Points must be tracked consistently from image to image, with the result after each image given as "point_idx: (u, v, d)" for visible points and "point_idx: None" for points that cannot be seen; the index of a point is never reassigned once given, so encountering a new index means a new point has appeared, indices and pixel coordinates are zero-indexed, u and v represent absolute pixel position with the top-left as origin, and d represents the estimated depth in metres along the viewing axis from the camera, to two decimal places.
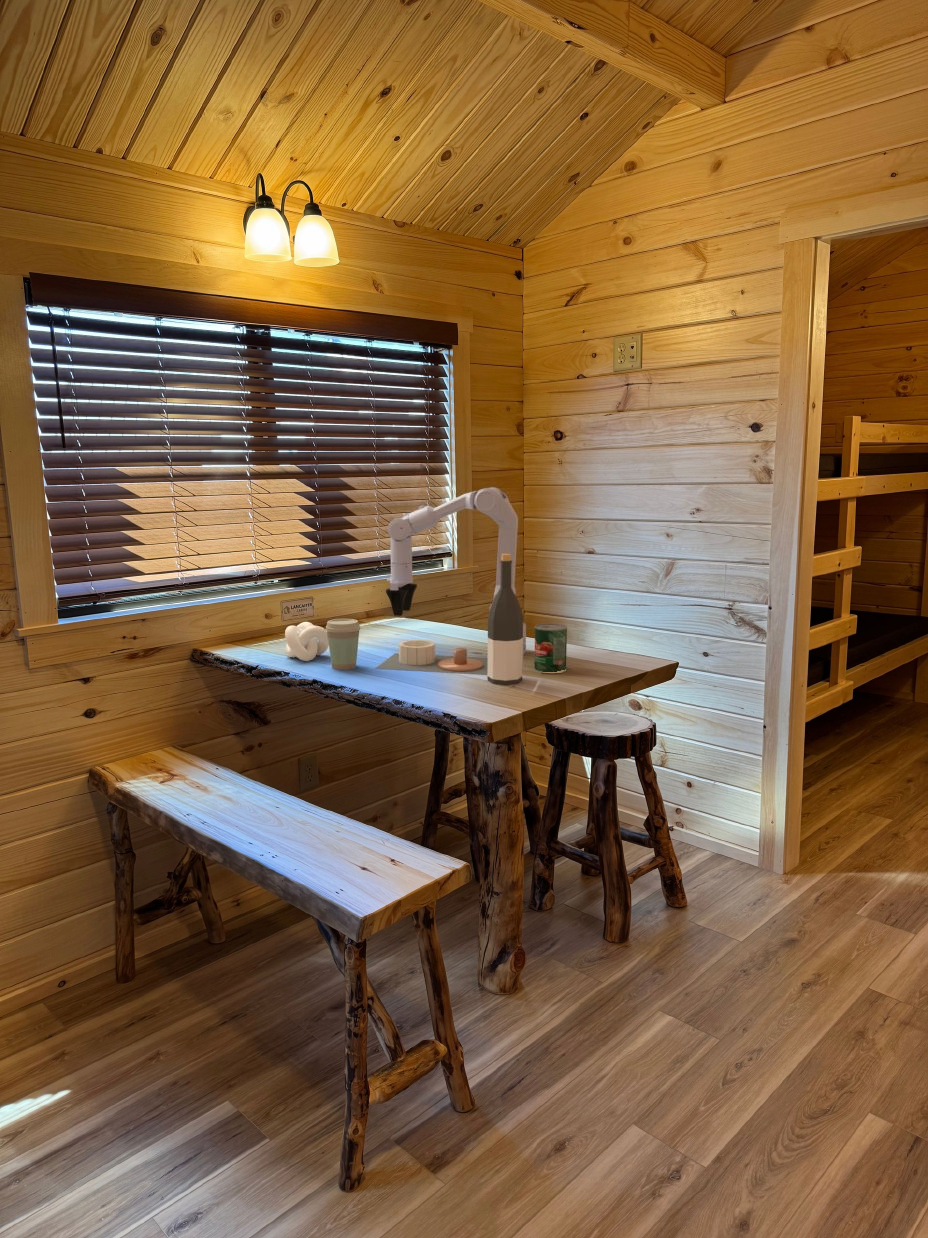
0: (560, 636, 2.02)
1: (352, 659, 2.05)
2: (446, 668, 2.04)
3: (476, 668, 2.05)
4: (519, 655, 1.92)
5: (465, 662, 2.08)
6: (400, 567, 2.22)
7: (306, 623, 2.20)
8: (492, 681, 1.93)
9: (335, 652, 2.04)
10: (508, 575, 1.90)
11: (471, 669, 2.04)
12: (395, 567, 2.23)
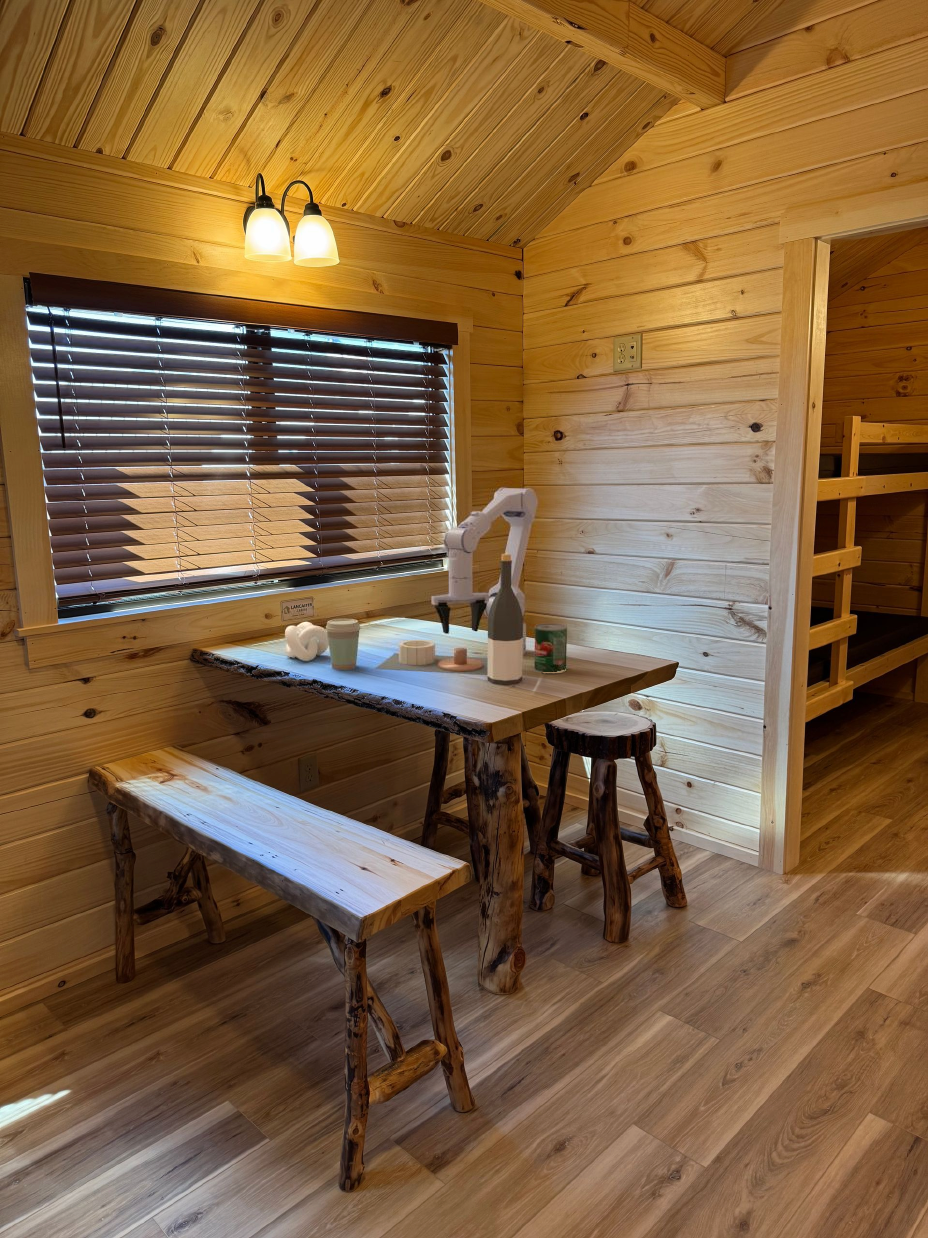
0: (560, 636, 2.02)
1: (352, 659, 2.05)
2: (446, 668, 2.04)
3: (476, 668, 2.05)
4: (519, 655, 1.92)
5: (465, 662, 2.08)
6: (450, 581, 2.03)
7: (306, 623, 2.20)
8: (492, 681, 1.93)
9: (335, 652, 2.04)
10: (508, 575, 1.90)
11: (471, 669, 2.04)
12: (449, 580, 2.04)
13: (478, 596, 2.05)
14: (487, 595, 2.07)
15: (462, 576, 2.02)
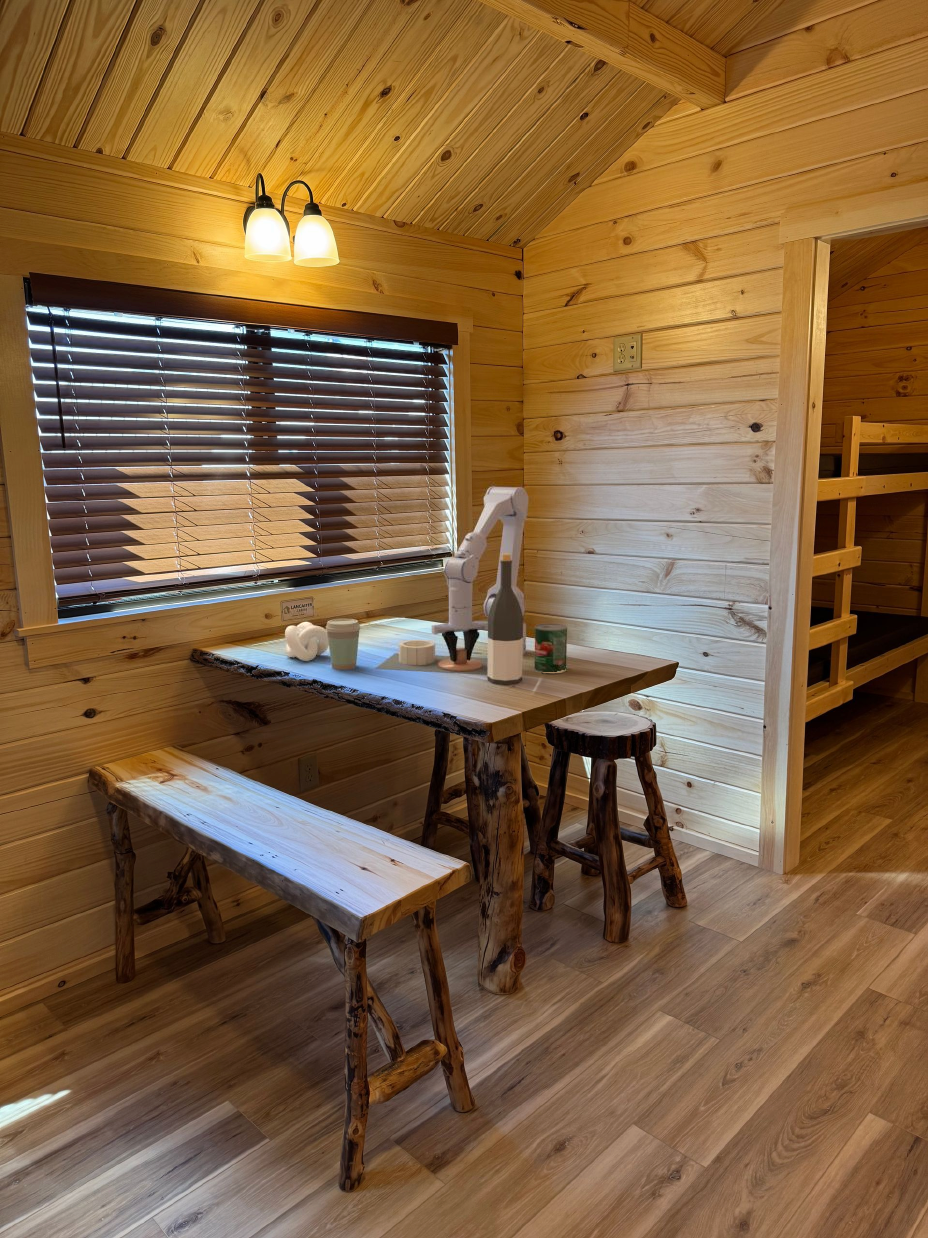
0: (560, 636, 2.02)
1: (352, 659, 2.05)
2: (446, 668, 2.04)
3: (476, 668, 2.05)
4: (519, 655, 1.92)
5: (465, 662, 2.08)
6: (450, 610, 2.04)
7: (306, 623, 2.20)
8: (492, 681, 1.93)
9: (335, 652, 2.04)
10: (508, 575, 1.90)
11: (471, 669, 2.04)
12: (449, 610, 2.06)
13: (478, 625, 2.07)
14: (487, 624, 2.08)
15: (462, 606, 2.03)
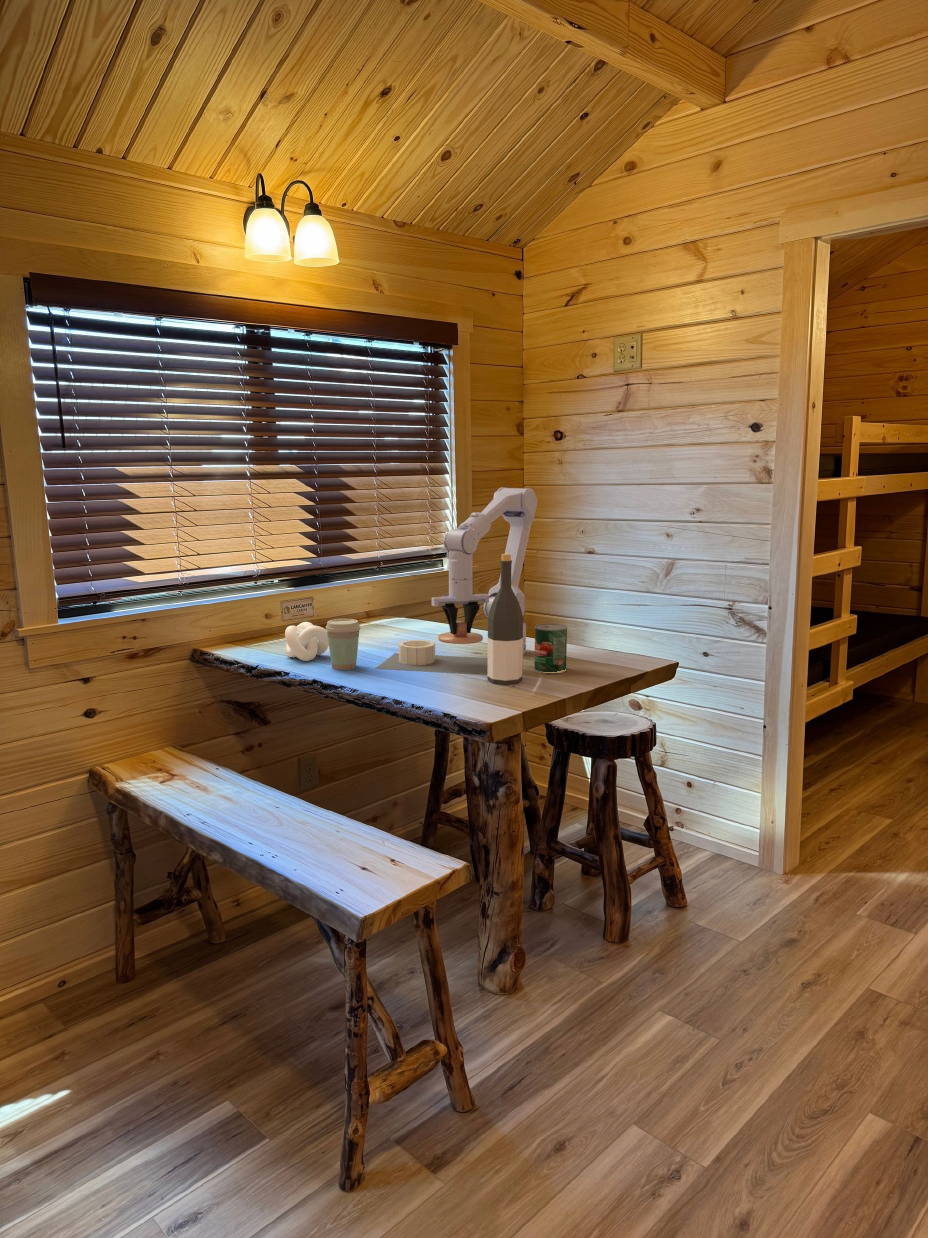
0: (560, 636, 2.02)
1: (352, 659, 2.05)
2: (446, 640, 2.03)
3: (476, 641, 2.04)
4: (519, 655, 1.92)
5: (465, 635, 2.06)
6: (450, 582, 2.03)
7: (306, 623, 2.20)
8: (492, 681, 1.93)
9: (335, 652, 2.04)
10: (508, 575, 1.90)
11: (471, 641, 2.03)
12: (449, 582, 2.04)
13: (478, 597, 2.05)
14: (487, 596, 2.07)
15: (462, 577, 2.02)
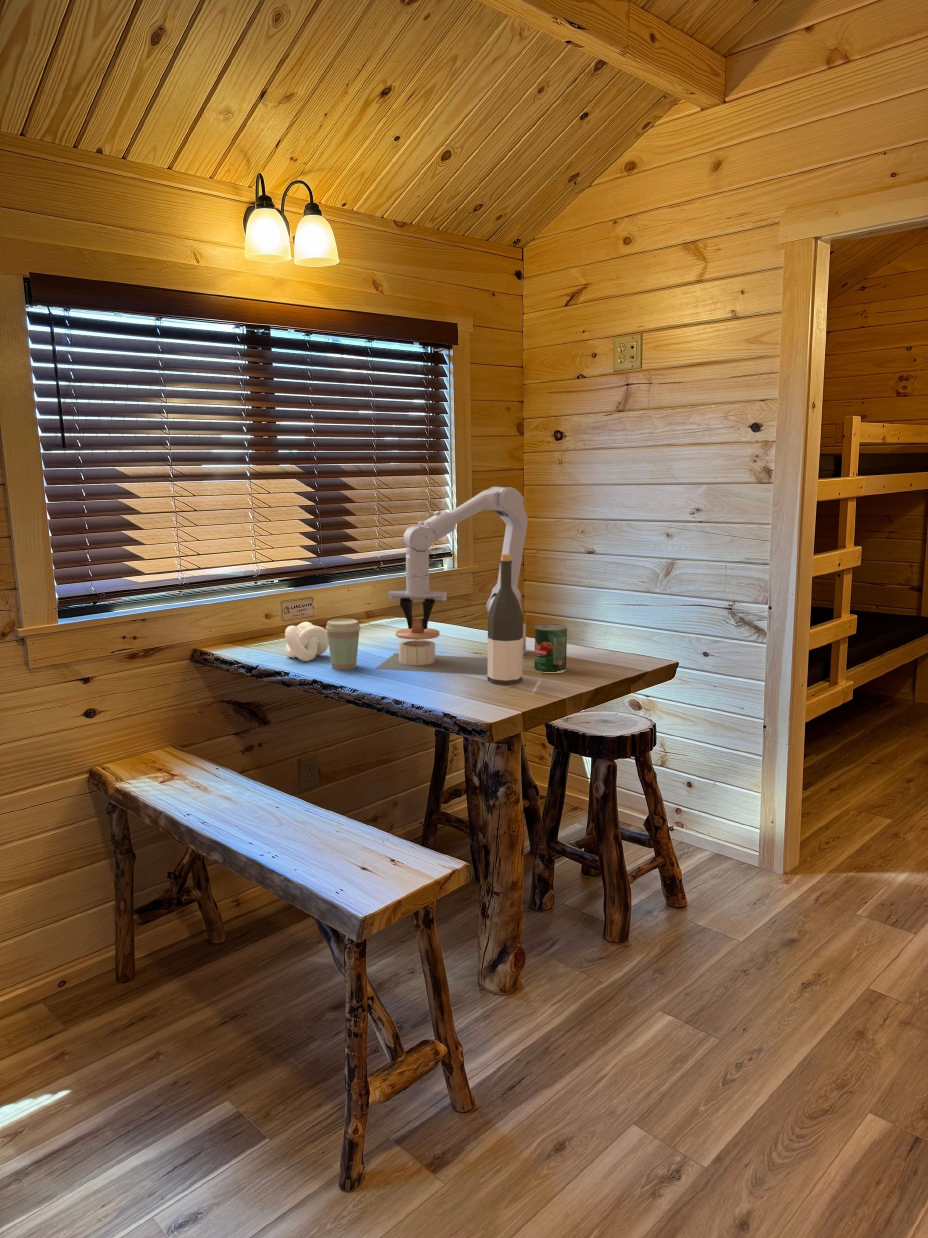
0: (560, 636, 2.02)
1: (352, 659, 2.05)
2: (397, 635, 2.10)
3: (424, 637, 2.07)
4: (519, 655, 1.92)
5: (420, 631, 2.11)
6: (406, 578, 2.10)
7: (306, 623, 2.20)
8: (492, 681, 1.93)
9: (335, 652, 2.04)
10: (508, 575, 1.90)
11: (418, 638, 2.07)
12: None
13: (432, 595, 2.08)
14: (443, 594, 2.09)
15: (413, 574, 2.07)
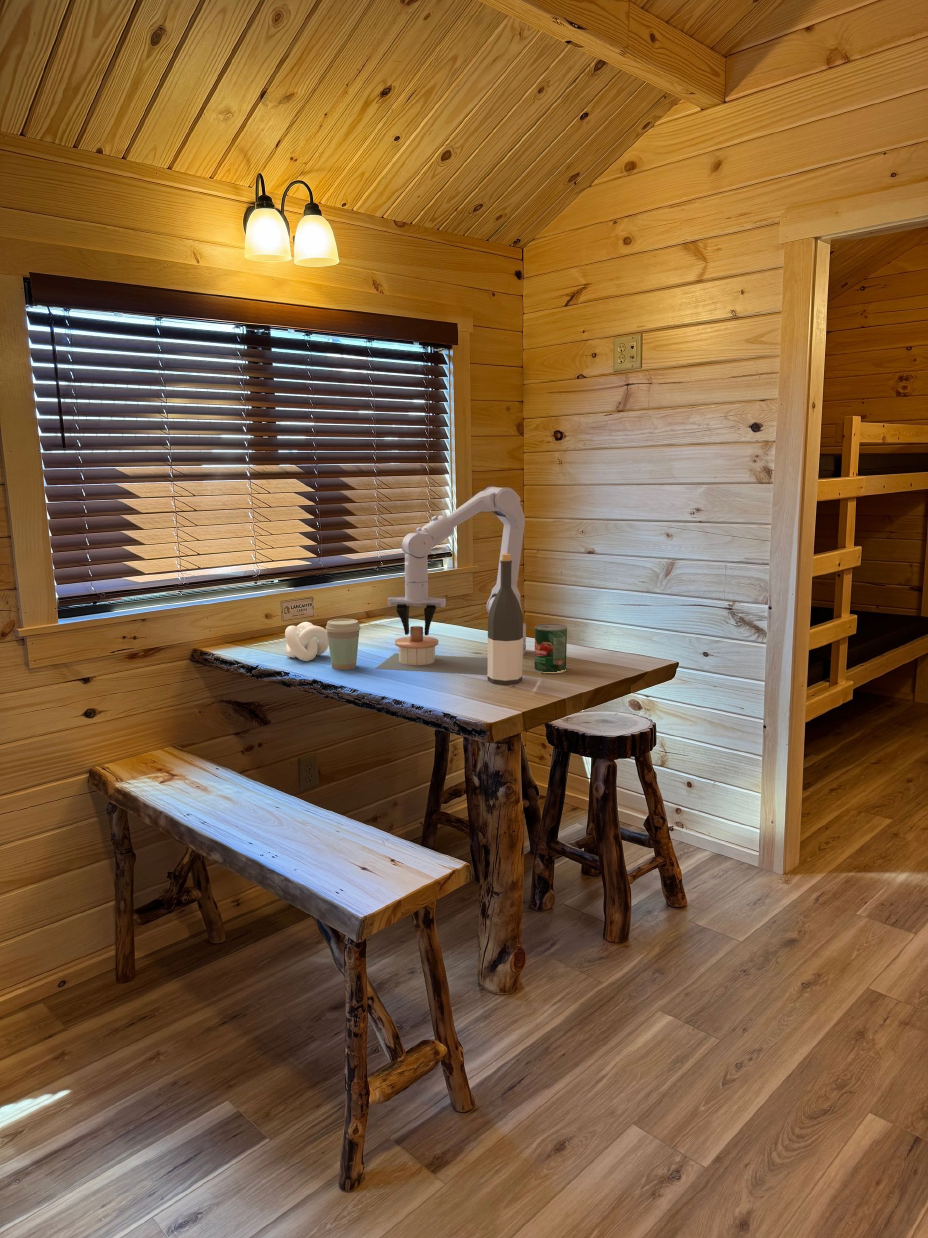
0: (560, 636, 2.02)
1: (352, 659, 2.05)
2: (396, 643, 2.10)
3: (423, 646, 2.08)
4: (519, 655, 1.92)
5: (419, 640, 2.11)
6: (405, 584, 2.10)
7: (306, 623, 2.20)
8: (492, 681, 1.93)
9: (335, 652, 2.04)
10: (508, 575, 1.90)
11: (417, 647, 2.08)
12: None
13: (431, 601, 2.09)
14: (442, 601, 2.09)
15: (411, 580, 2.07)
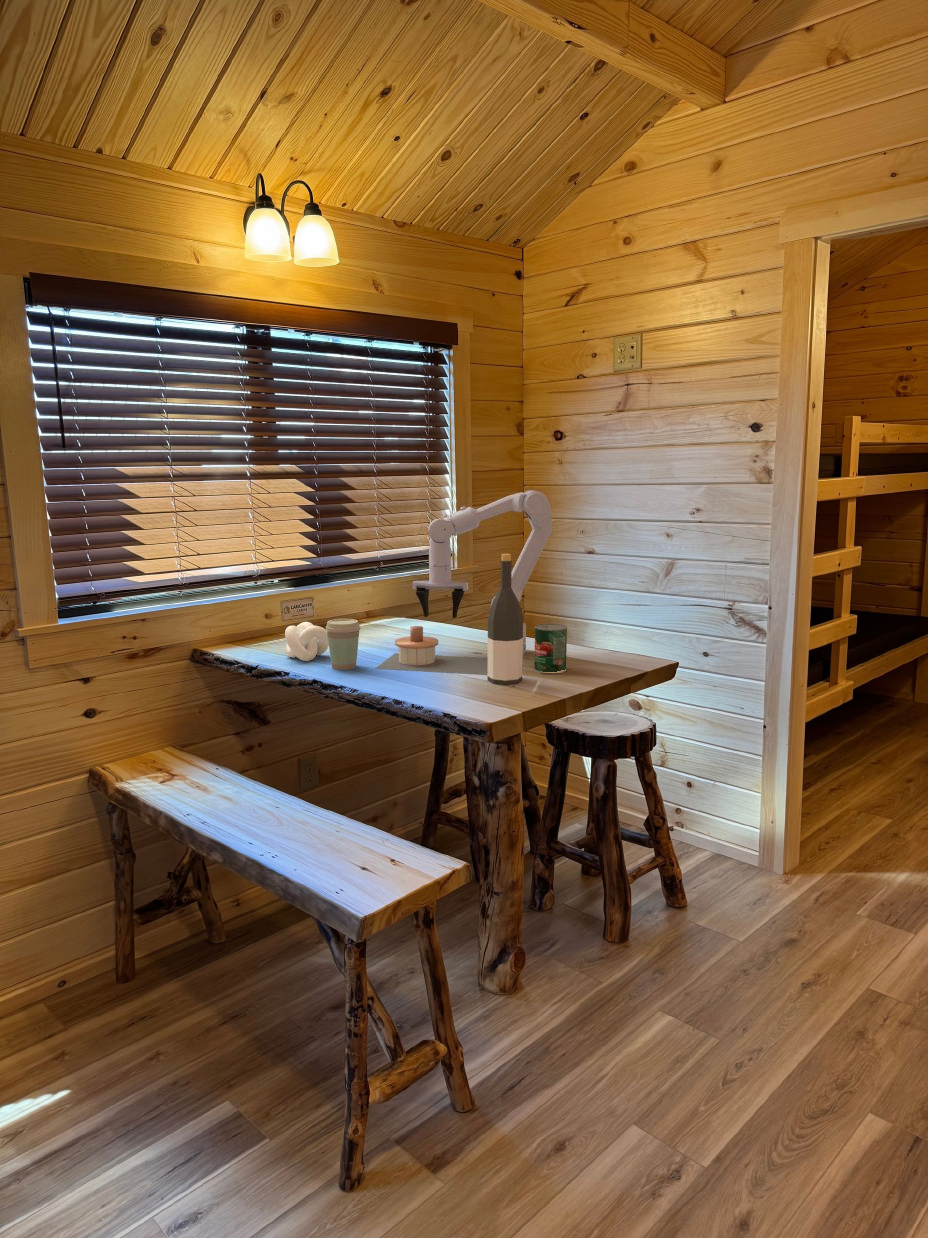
0: (560, 636, 2.02)
1: (352, 659, 2.05)
2: (396, 643, 2.10)
3: (423, 646, 2.08)
4: (519, 655, 1.92)
5: (419, 640, 2.11)
6: (429, 568, 2.18)
7: (306, 623, 2.20)
8: (492, 681, 1.93)
9: (335, 652, 2.04)
10: (508, 575, 1.90)
11: (417, 647, 2.08)
12: None
13: (453, 584, 2.16)
14: (464, 584, 2.16)
15: (432, 564, 2.16)
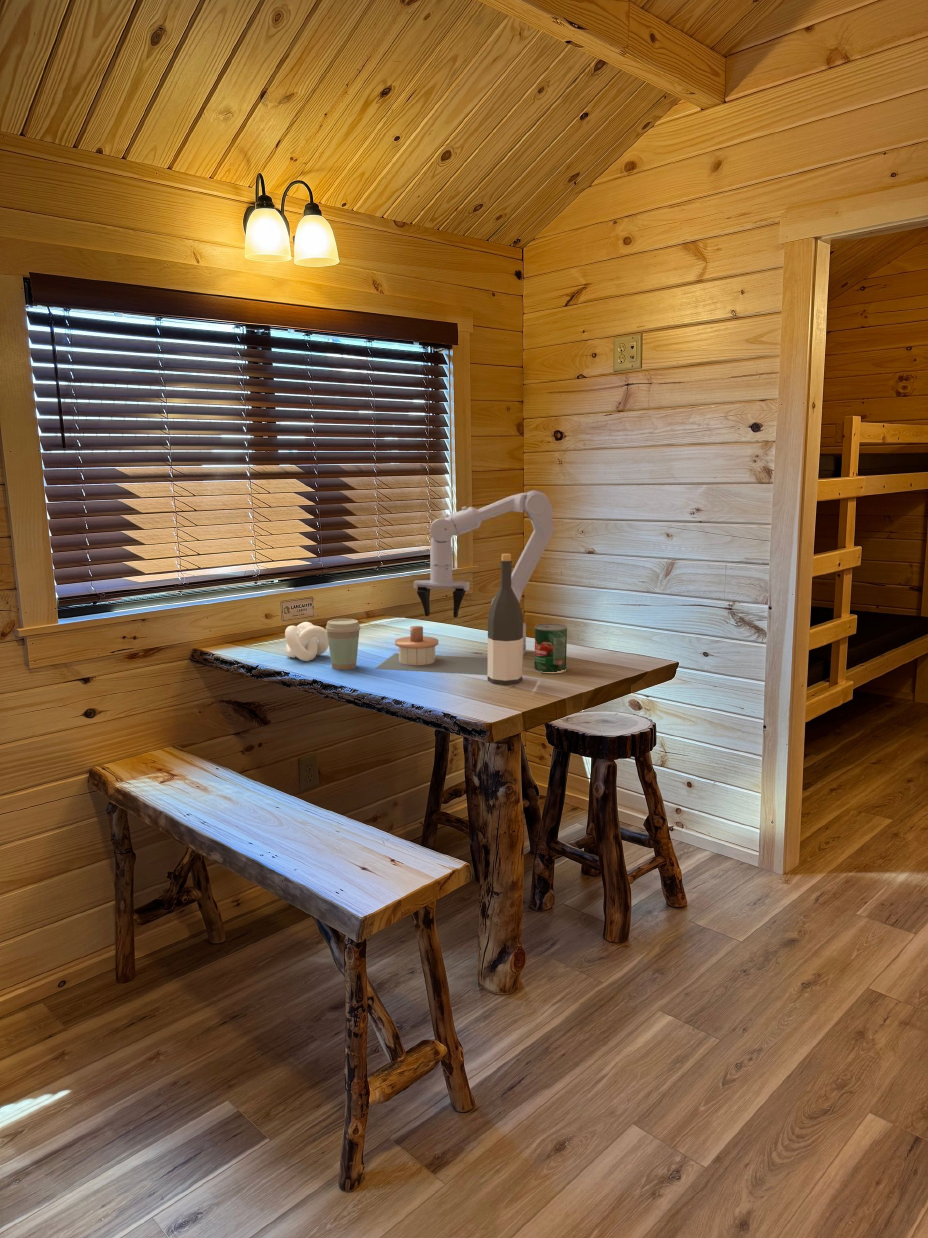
0: (560, 636, 2.02)
1: (352, 659, 2.05)
2: (396, 643, 2.10)
3: (423, 646, 2.08)
4: (519, 655, 1.92)
5: (419, 640, 2.11)
6: (430, 568, 2.19)
7: (306, 623, 2.20)
8: (492, 681, 1.93)
9: (335, 652, 2.04)
10: (508, 575, 1.90)
11: (417, 647, 2.08)
12: None
13: (454, 584, 2.17)
14: (465, 584, 2.17)
15: (433, 563, 2.16)
